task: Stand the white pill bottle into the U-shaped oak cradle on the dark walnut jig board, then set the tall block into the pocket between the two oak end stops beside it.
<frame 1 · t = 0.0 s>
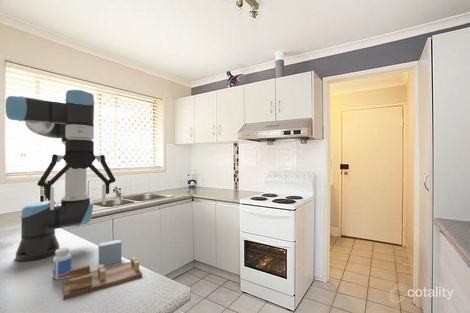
hand: (79, 206, 73), 28 cm above the worktop, fingers open, 13 cm apart
pill bottle: (62, 276, 85), on the worktop
jig: (103, 279, 83), on the worktop
block: (110, 261, 97), on the worktop
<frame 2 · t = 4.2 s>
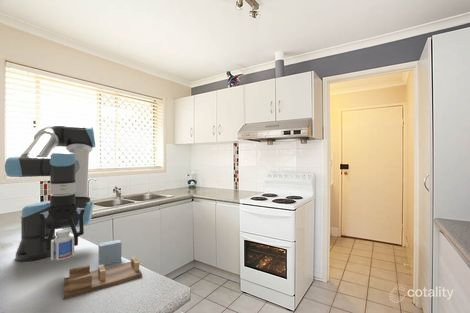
hand: (62, 256, 86), 7 cm above the worktop, fingers closed on pill bottle, 5 cm apart
pill bottle: (62, 257, 86), point 6 cm above the worktop, touching gripper
everything else where it was.
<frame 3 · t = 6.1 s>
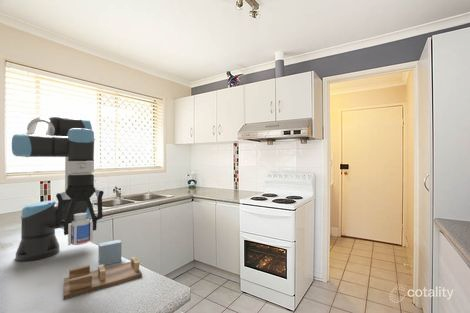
hand: (80, 241, 79), 15 cm above the worktop, fingers closed on pill bottle, 5 cm apart
pill bottle: (80, 243, 79), point 14 cm above the worktop, touching gripper
everything else where it was.
when the fingers open (2 cm above the worktop, at t = 8.5 s): pill bottle stays where it is, resting on jig.
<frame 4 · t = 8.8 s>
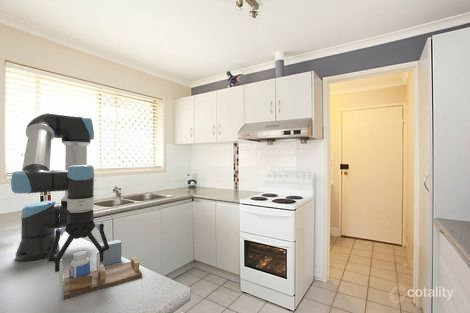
hand: (80, 275, 79), 3 cm above the worktop, fingers open, 10 cm apart
pill bottle: (80, 282, 79), point 1 cm above the worktop, touching jig
everything else where it was.
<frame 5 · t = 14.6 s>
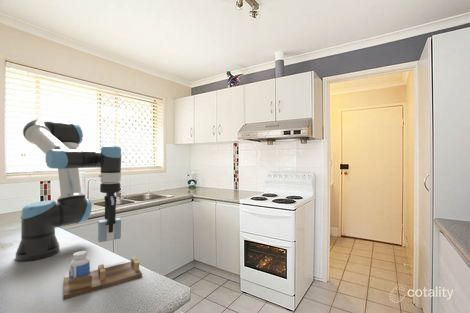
hand: (109, 237, 97), 10 cm above the worktop, fingers closed on block, 4 cm apart
block: (109, 238, 97), point 9 cm above the worktop, touching gripper
everything else where it was.
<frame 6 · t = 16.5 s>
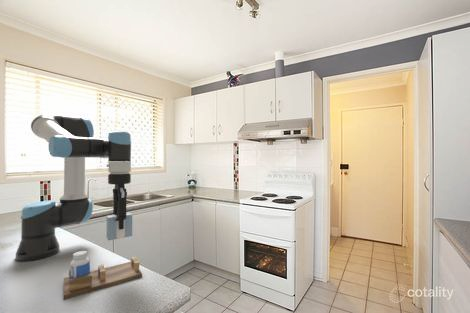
hand: (119, 235, 86), 14 cm above the worktop, fingers closed on block, 4 cm apart
block: (119, 236, 86), point 14 cm above the worktop, touching gripper
everything else where it was.
when the fingers open (2 cm above the worktop, at t = 18.8 s): block stays where it is, resting on jig.
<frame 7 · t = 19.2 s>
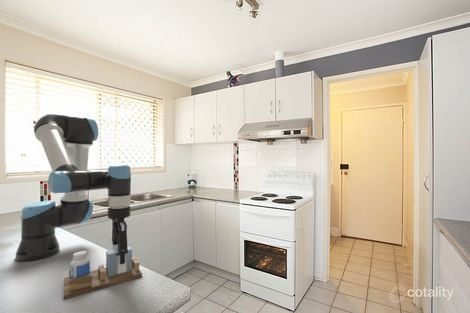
hand: (119, 266, 86), 3 cm above the worktop, fingers open, 10 cm apart
block: (119, 271, 86), point 1 cm above the worktop, touching jig
everything else where it was.
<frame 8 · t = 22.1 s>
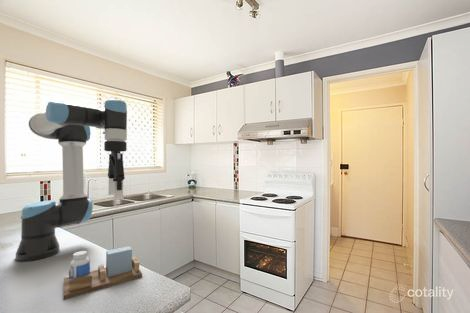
hand: (115, 197, 87), 29 cm above the worktop, fingers open, 13 cm apart
nothing on the worktop moved.
at the end: pill bottle 0.2 cm from the target spot on the jig, point 1.0 cm above the jig's base; pill bottle tilted 0°; block 0.1 cm from the target spot on the jig, point 1.2 cm above the jig's base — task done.
